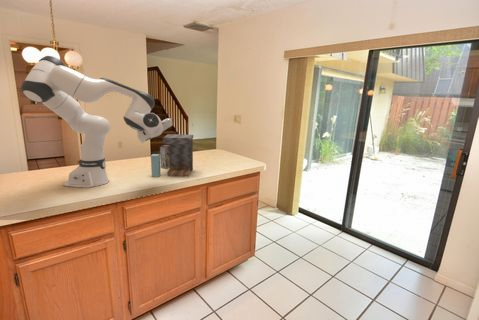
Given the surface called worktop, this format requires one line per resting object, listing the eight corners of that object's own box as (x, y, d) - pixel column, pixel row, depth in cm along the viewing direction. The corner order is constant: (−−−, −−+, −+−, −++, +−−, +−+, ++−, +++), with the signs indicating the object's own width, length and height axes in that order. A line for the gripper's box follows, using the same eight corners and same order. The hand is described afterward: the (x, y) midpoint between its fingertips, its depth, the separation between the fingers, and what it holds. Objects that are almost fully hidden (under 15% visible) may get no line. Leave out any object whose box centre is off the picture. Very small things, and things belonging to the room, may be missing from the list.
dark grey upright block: (164, 176, 162) (163, 137, 156) (169, 169, 178) (168, 134, 172) (190, 176, 164) (190, 138, 158) (193, 170, 179) (193, 134, 173)
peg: (151, 176, 161) (150, 155, 157) (153, 174, 165) (152, 154, 162) (158, 176, 161) (158, 155, 158) (160, 174, 165) (159, 154, 162)
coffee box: (170, 165, 191) (169, 144, 187) (175, 166, 187) (175, 145, 184) (160, 167, 184) (159, 145, 180) (165, 168, 180) (164, 146, 176)
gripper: (168, 113, 136) (169, 120, 149) (133, 132, 131) (138, 138, 144) (174, 122, 136) (175, 128, 149) (140, 142, 131) (144, 147, 144)
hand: (156, 133), depth 147 cm, fingers open, 8 cm apart
